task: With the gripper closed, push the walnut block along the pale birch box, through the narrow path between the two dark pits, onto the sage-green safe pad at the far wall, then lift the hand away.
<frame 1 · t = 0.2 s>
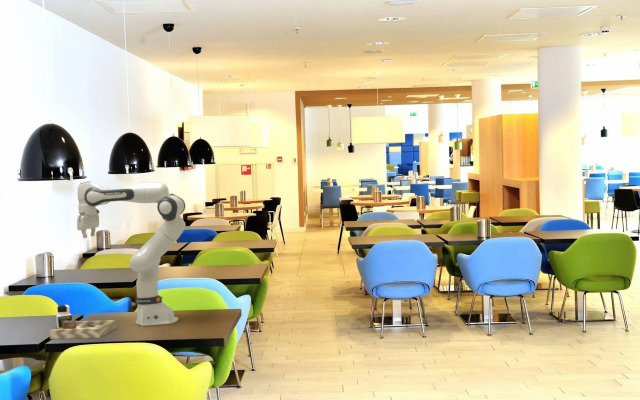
hand: (89, 237, 393), 48 cm above the table, tool pointing down, fingers open, 8 cm apart
trap box: (83, 333, 371), on the table
medicine bottle: (64, 327, 390), on the table
walnut block: (69, 329, 372), point 2 cm above the table, touching trap box
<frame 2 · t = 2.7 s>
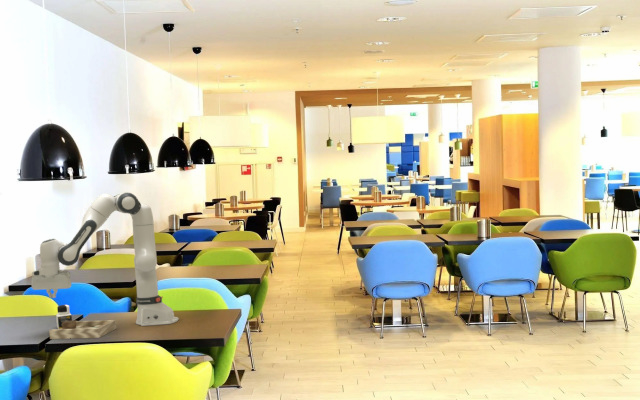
hand: (52, 297, 372), 19 cm above the table, tool pointing down, fingers closed
nothing on the table moved.
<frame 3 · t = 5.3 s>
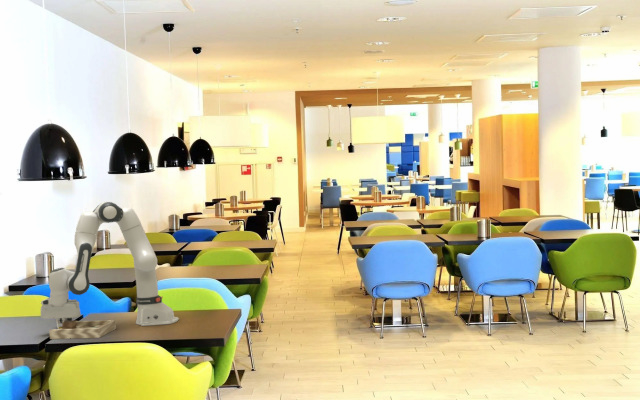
hand: (61, 326, 372), 4 cm above the table, tool pointing down, fingers closed
walnut block: (69, 329, 371), point 3 cm above the table, touching gripper
everything else where it was.
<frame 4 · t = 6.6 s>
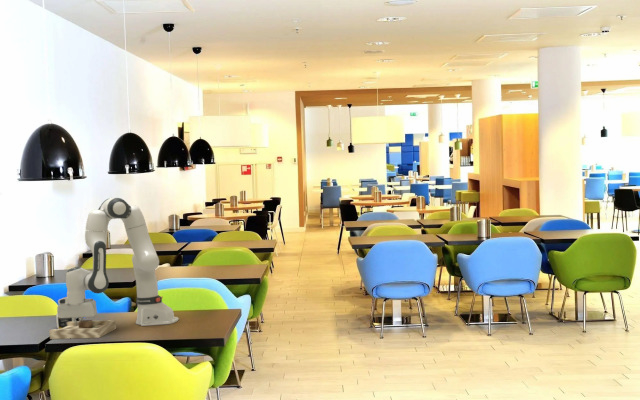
hand: (78, 325, 371), 4 cm above the table, tool pointing down, fingers closed
walnut block: (86, 328, 370), point 2 cm above the table, touching gripper, trap box
everything else where it was.
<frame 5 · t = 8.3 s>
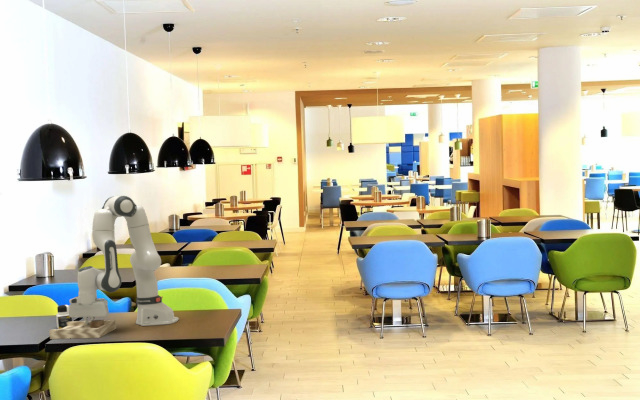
hand: (89, 325, 370), 4 cm above the table, tool pointing down, fingers closed
walnut block: (97, 328, 369), point 2 cm above the table, touching gripper, trap box
everything else where it was.
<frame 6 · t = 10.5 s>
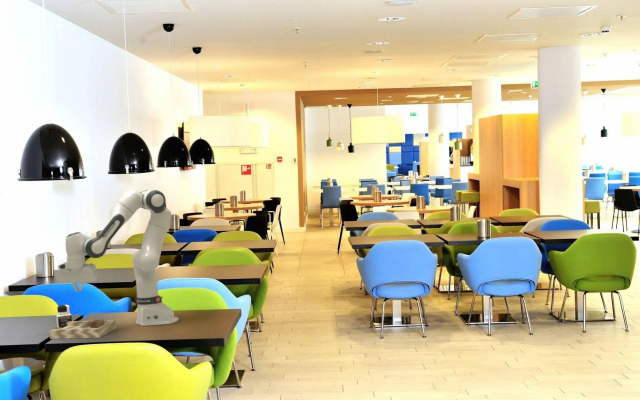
hand: (78, 290, 372), 22 cm above the table, tool pointing down, fingers closed
walnut block: (97, 328, 369), point 2 cm above the table, touching trap box
everything else where it was.
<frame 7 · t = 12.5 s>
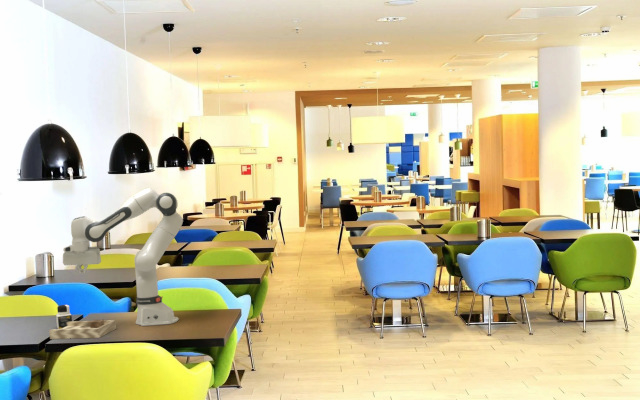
hand: (82, 273, 386), 29 cm above the table, tool pointing down, fingers closed
nothing on the table moved.
at the end: walnut block 0.4 cm from the target spot on the trap box, point 2.5 cm above the trap box's base; walnut block tilted 0° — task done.
